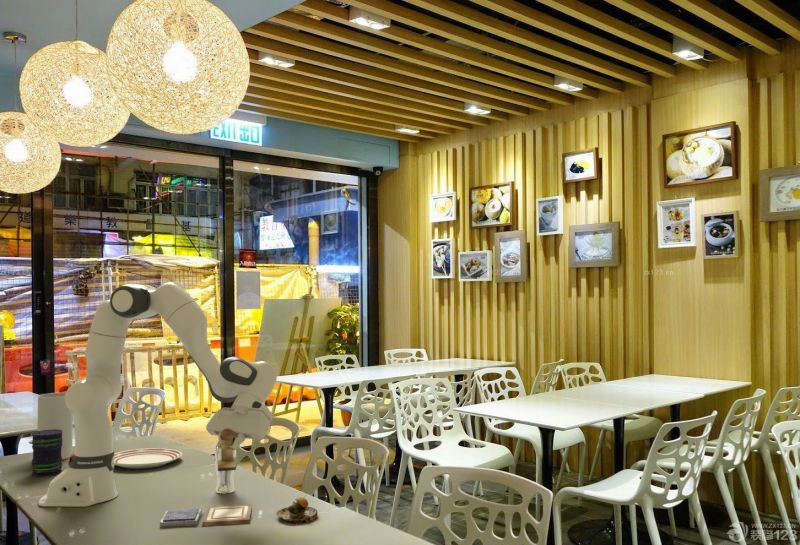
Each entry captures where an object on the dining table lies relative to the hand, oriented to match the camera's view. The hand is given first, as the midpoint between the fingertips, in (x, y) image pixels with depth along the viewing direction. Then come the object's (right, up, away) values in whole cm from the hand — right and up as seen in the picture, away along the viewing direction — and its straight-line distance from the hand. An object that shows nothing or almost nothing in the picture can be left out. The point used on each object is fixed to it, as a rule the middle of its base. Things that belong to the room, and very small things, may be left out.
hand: (225, 448), depth 195 cm
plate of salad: (+21, -21, 0) cm, 29 cm away
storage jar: (-78, -22, +47) cm, 94 cm away
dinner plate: (-48, -23, +63) cm, 82 cm away
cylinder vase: (-87, -23, +70) cm, 114 cm away
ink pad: (-12, -20, -3) cm, 24 cm away
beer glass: (-7, -21, +25) cm, 34 cm away
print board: (+1, -20, 0) cm, 20 cm away
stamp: (0, -6, 0) cm, 6 cm away
